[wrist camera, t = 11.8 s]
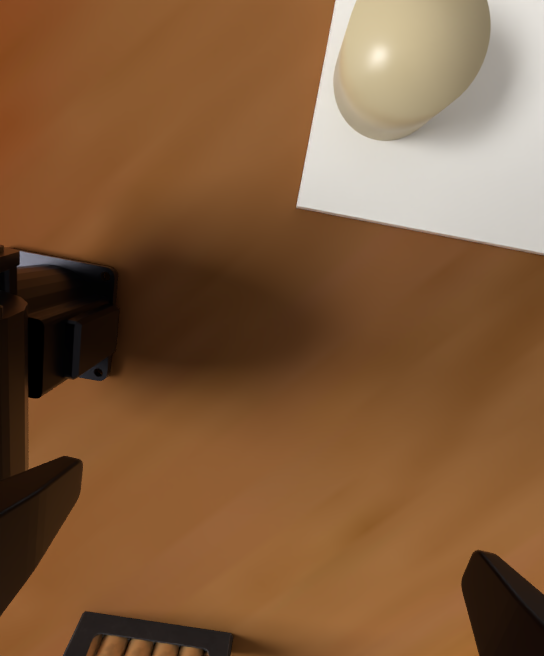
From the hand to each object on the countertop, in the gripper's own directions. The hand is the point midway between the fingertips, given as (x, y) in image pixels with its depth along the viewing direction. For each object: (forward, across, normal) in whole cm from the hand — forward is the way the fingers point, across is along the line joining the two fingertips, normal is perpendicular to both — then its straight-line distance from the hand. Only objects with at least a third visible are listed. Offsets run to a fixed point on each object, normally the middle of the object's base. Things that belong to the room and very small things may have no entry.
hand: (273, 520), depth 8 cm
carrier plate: (+13, -9, -14) cm, 21 cm away
